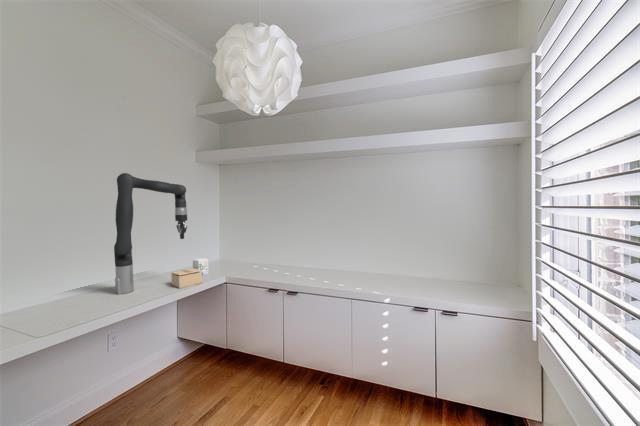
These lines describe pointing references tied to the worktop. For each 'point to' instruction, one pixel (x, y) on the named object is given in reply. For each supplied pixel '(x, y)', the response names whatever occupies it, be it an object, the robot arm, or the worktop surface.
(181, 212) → the robot arm
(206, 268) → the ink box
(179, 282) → the carton
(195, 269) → the lid
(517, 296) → the worktop surface
